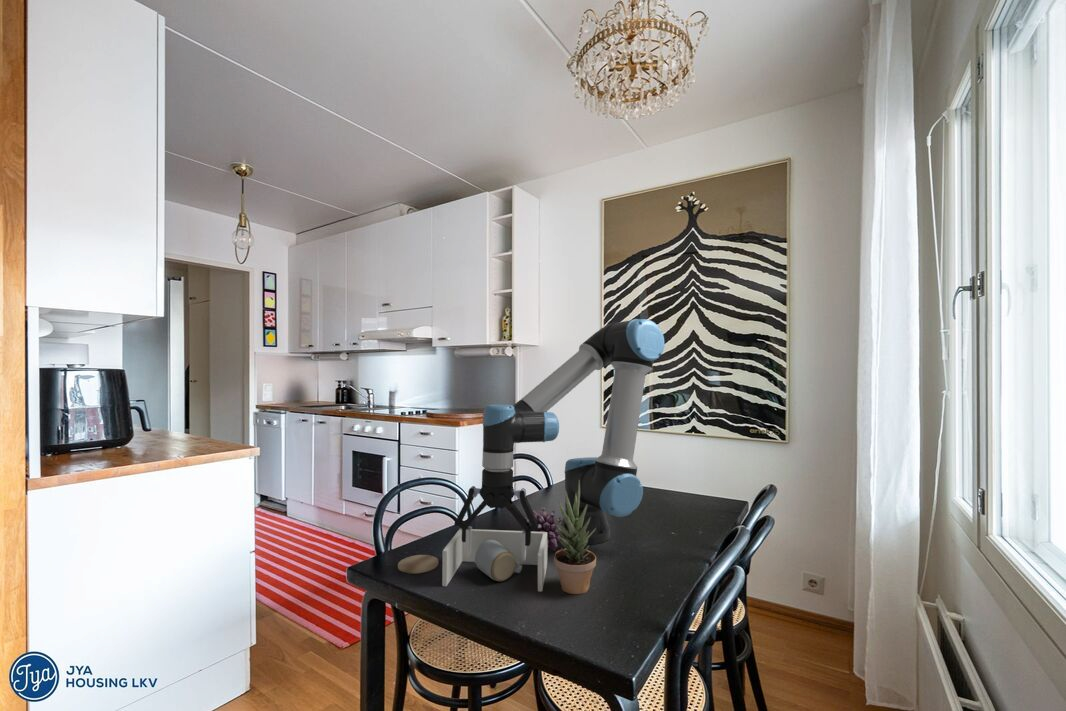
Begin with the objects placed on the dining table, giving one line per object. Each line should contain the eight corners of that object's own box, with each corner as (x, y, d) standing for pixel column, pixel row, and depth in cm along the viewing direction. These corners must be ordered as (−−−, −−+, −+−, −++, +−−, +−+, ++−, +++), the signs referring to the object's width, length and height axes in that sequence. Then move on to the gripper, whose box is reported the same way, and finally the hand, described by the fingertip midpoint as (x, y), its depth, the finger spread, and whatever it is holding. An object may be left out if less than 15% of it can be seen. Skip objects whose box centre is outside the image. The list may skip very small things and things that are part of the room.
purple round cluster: (574, 552, 127) (574, 507, 127) (544, 565, 118) (544, 517, 119) (543, 540, 135) (543, 499, 135) (513, 552, 127) (513, 508, 127)
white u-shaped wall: (547, 563, 119) (547, 532, 119) (542, 591, 104) (542, 555, 104) (459, 559, 122) (459, 528, 122) (442, 586, 107) (442, 550, 107)
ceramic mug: (491, 587, 106) (492, 553, 107) (474, 574, 113) (474, 542, 113) (529, 576, 113) (529, 543, 113) (510, 564, 119) (511, 534, 120)
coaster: (443, 558, 123) (443, 555, 123) (431, 574, 113) (431, 572, 113) (406, 556, 124) (406, 554, 124) (391, 572, 114) (391, 570, 114)
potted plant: (566, 602, 100) (566, 485, 100) (547, 583, 108) (547, 476, 109) (606, 593, 104) (605, 481, 104) (584, 575, 112) (584, 472, 113)
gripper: (550, 467, 116) (548, 554, 115) (452, 463, 118) (449, 548, 117) (547, 473, 108) (546, 566, 107) (443, 469, 111) (440, 559, 110)
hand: (495, 557), depth 112 cm, fingers open, 13 cm apart
